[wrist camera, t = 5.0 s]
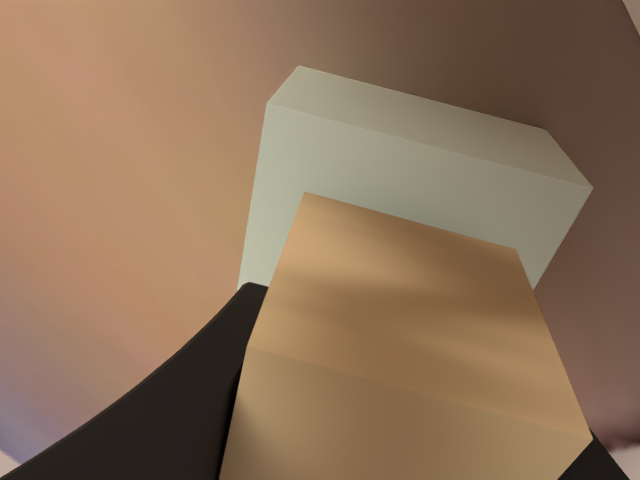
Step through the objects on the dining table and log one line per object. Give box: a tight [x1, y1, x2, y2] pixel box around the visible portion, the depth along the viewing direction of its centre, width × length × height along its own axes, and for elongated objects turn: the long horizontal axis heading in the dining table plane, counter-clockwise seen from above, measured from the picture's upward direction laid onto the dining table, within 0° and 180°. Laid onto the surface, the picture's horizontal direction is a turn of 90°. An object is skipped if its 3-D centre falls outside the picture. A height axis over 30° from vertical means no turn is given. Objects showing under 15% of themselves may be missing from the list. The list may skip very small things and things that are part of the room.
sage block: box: [237, 65, 593, 291], centre depth 13 cm, size 7×7×4 cm
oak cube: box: [219, 191, 593, 480], centre depth 9 cm, size 4×4×4 cm
